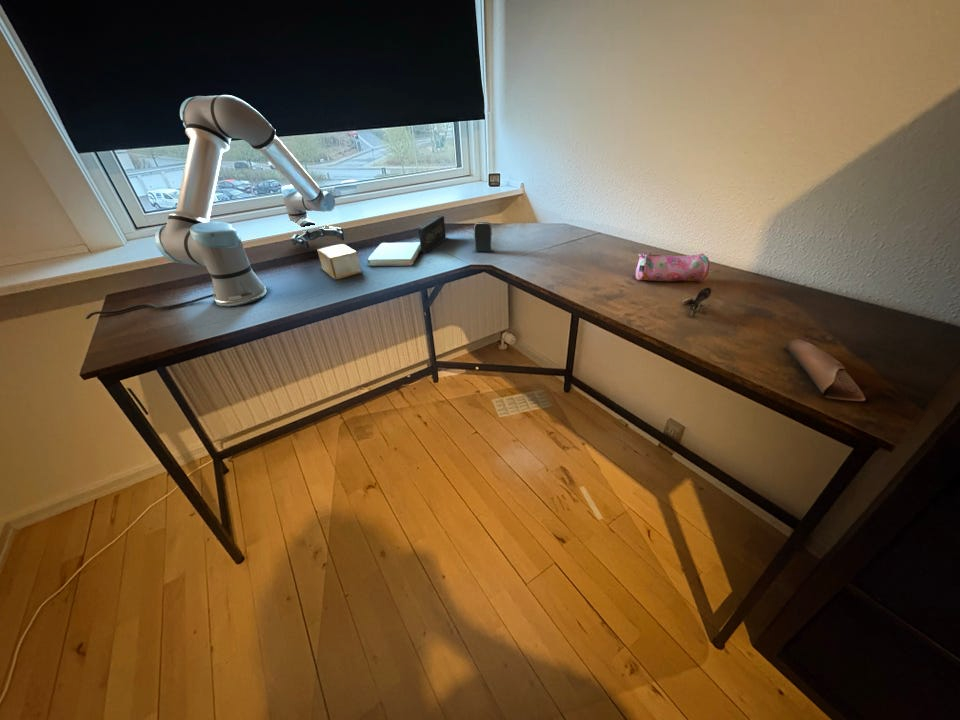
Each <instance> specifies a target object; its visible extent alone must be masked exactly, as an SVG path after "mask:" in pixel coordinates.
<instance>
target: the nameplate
mask: <svg viewBox="0 0 960 720" xmlns="http://www.w3.org/2000/svg"><path fill="white" fill-rule="evenodd" d="M445 224H446V223H445V215H439V216H437V217H435V218H433V219H432V220H430V221H428V222H427V223H425V224H424V225H422V226H420V227H419V228H418V235H419V242H420V245H421V250H420V252H421V253H424V254H425V253H429V251H431V250H432V249H433V248H435V247H436V246H438V245H439V244H440V243H442V242H443V241H444V240H446V237H447V236H446V225H445Z"/></svg>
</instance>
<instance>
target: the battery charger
mask: <svg viewBox="0 0 960 720" xmlns="http://www.w3.org/2000/svg"><path fill="white" fill-rule="evenodd" d="M473 235H474V236H473V237H474V251H475V252H477V253H479V252H480V253H490V252H492V236H493V229H492V224H491V222H488V221H479V222H476V223H475V224H474V227H473Z"/></svg>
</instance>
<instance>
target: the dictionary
mask: <svg viewBox="0 0 960 720" xmlns="http://www.w3.org/2000/svg"><path fill="white" fill-rule="evenodd" d="M317 253H318V257H319V261H320V264H321V268H322V271H324V272H325V273H326V274H327V275H329V276H330V277H331V278H332V279H334V280H335V281H337V280H341V279H343V278H347V277H351V276H355V275H357V274H362V270H361V265H360V260H359V255H358V251H356V250H355V249H353V248H352V247H350V246H348V245H347V244H345V243H339V244H335V245H329V246H325V247H321V248H317Z"/></svg>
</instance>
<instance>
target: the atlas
mask: <svg viewBox="0 0 960 720" xmlns="http://www.w3.org/2000/svg"><path fill="white" fill-rule="evenodd" d="M420 252H421V245H420V241H419V242H381V243H379V245H378V246H377V247H376V248H375V250H374V251H373V252H372V253H371V254H370V256H368V258H367V259H366V260H367V266H368V267H392V266H393V267H403V266H405V267H406V266H407V267H409V266H410V267H412V266H413V264H414V262H415V261H416V259H417V257H418V255H419V253H420Z"/></svg>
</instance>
